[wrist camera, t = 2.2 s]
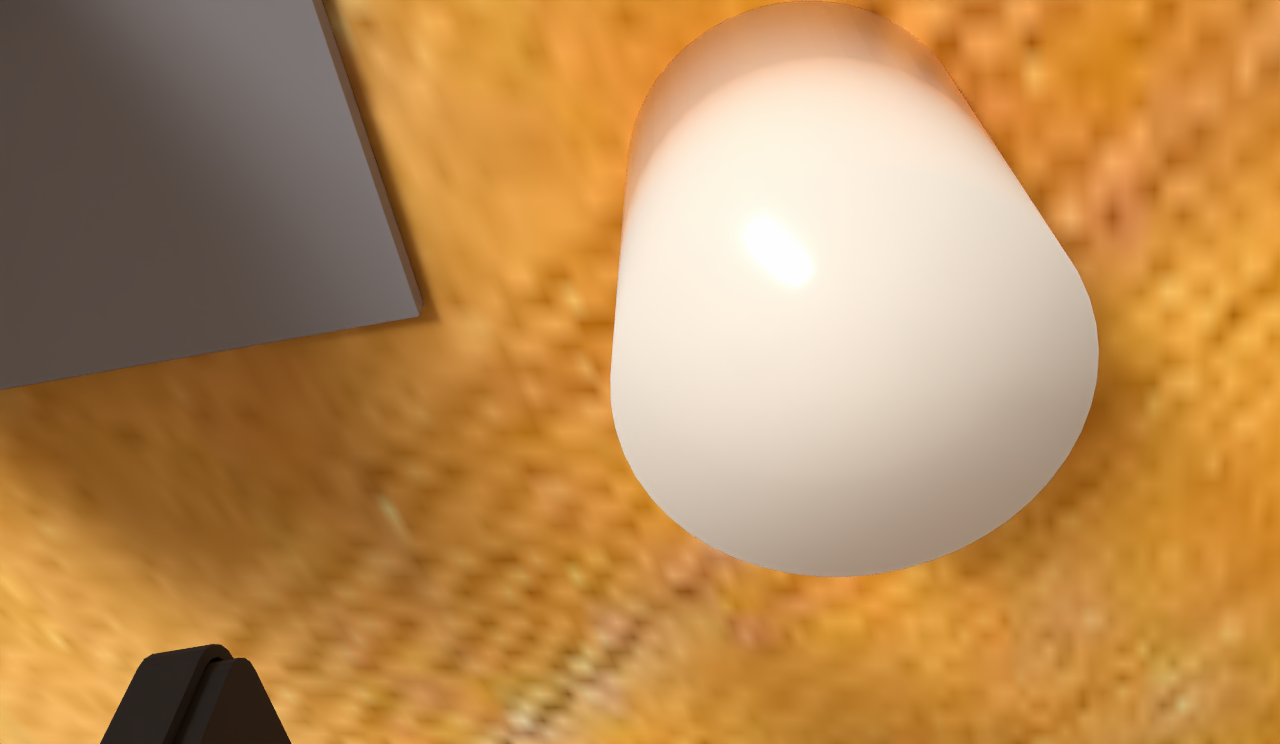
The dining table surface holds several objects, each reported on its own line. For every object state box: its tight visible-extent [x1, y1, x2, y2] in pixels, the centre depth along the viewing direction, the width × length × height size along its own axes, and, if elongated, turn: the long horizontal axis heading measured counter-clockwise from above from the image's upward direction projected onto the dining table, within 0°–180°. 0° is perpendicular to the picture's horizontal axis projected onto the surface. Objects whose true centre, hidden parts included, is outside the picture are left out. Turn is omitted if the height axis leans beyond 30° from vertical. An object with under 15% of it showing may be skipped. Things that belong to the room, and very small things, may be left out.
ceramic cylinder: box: [610, 1, 1099, 577], centre depth 15 cm, size 5×5×6 cm
